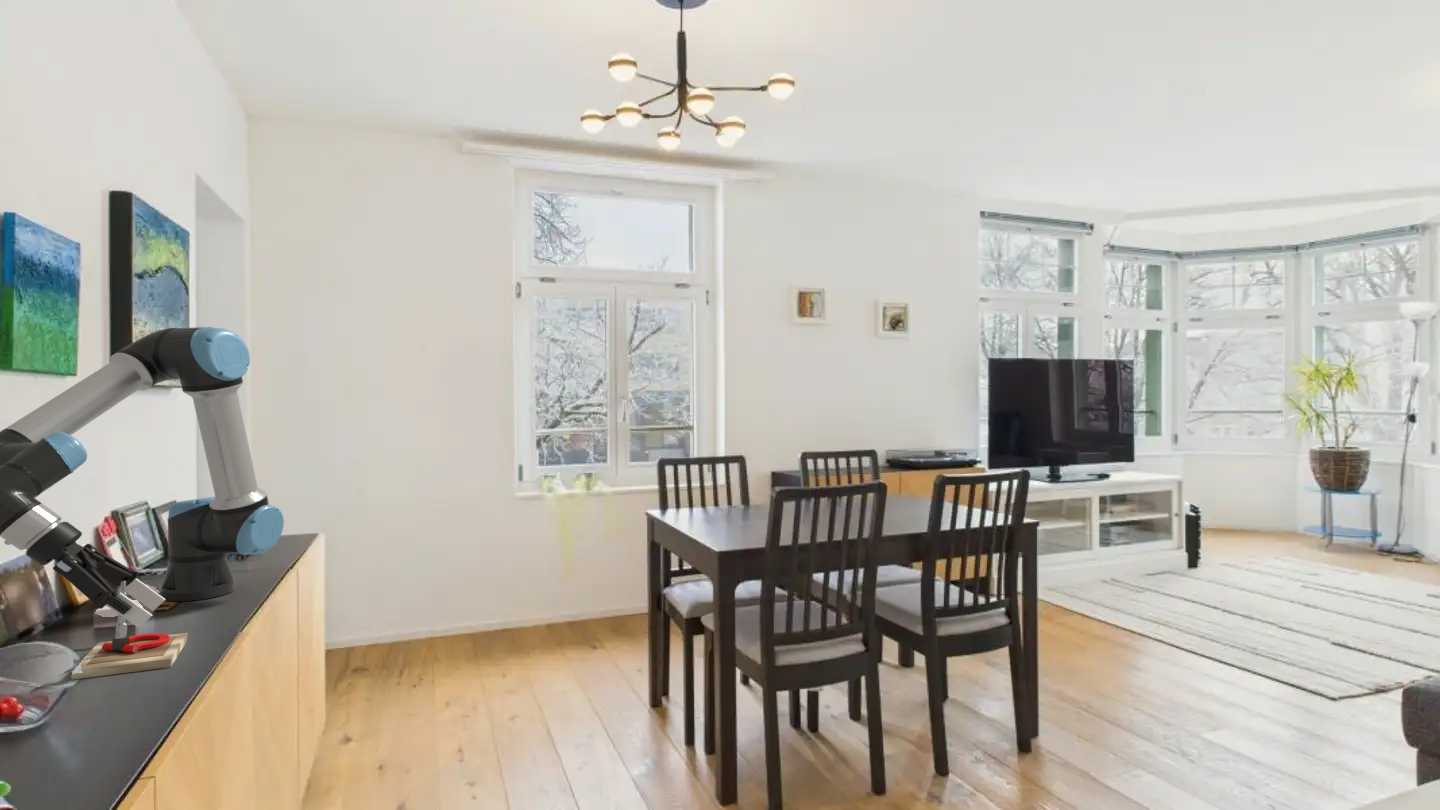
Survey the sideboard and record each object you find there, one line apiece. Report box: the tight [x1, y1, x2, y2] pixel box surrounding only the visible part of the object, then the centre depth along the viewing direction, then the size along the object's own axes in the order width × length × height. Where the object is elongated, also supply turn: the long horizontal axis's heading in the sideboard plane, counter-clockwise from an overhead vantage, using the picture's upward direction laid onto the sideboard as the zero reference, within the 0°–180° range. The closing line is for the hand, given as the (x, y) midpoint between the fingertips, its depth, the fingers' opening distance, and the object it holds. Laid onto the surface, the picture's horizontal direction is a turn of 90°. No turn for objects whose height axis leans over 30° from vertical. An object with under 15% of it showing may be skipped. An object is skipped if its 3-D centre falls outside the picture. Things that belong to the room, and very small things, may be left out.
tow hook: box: [102, 581, 170, 653], centre depth 143 cm, size 8×13×9 cm
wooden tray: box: [70, 632, 188, 680], centre depth 140 cm, size 16×14×2 cm
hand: (152, 613), depth 141 cm, fingers open, 10 cm apart
